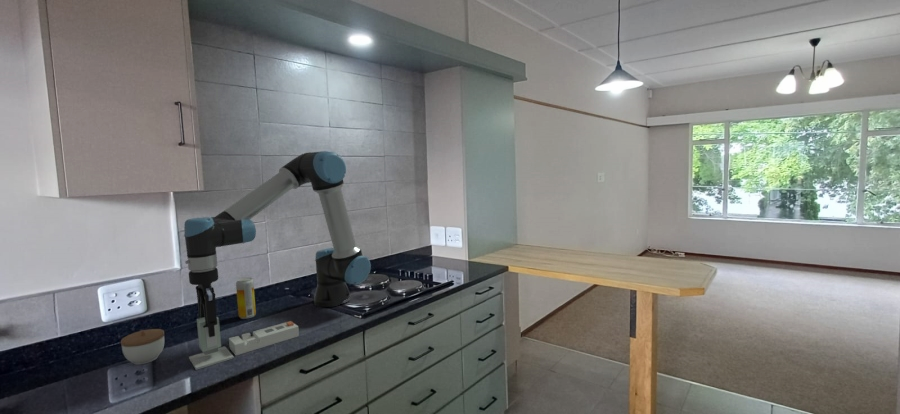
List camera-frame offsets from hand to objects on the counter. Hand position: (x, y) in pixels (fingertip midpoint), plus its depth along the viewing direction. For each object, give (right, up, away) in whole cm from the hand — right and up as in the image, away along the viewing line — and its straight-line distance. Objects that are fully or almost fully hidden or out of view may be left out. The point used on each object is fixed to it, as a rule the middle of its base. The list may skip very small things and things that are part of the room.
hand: (210, 343), depth 125 cm
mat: (0, -5, +1) cm, 5 cm away
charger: (0, -3, 0) cm, 3 cm away
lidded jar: (-20, -6, +1) cm, 21 cm away
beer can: (-6, -2, +35) cm, 36 cm away
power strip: (+12, -3, +11) cm, 17 cm away
